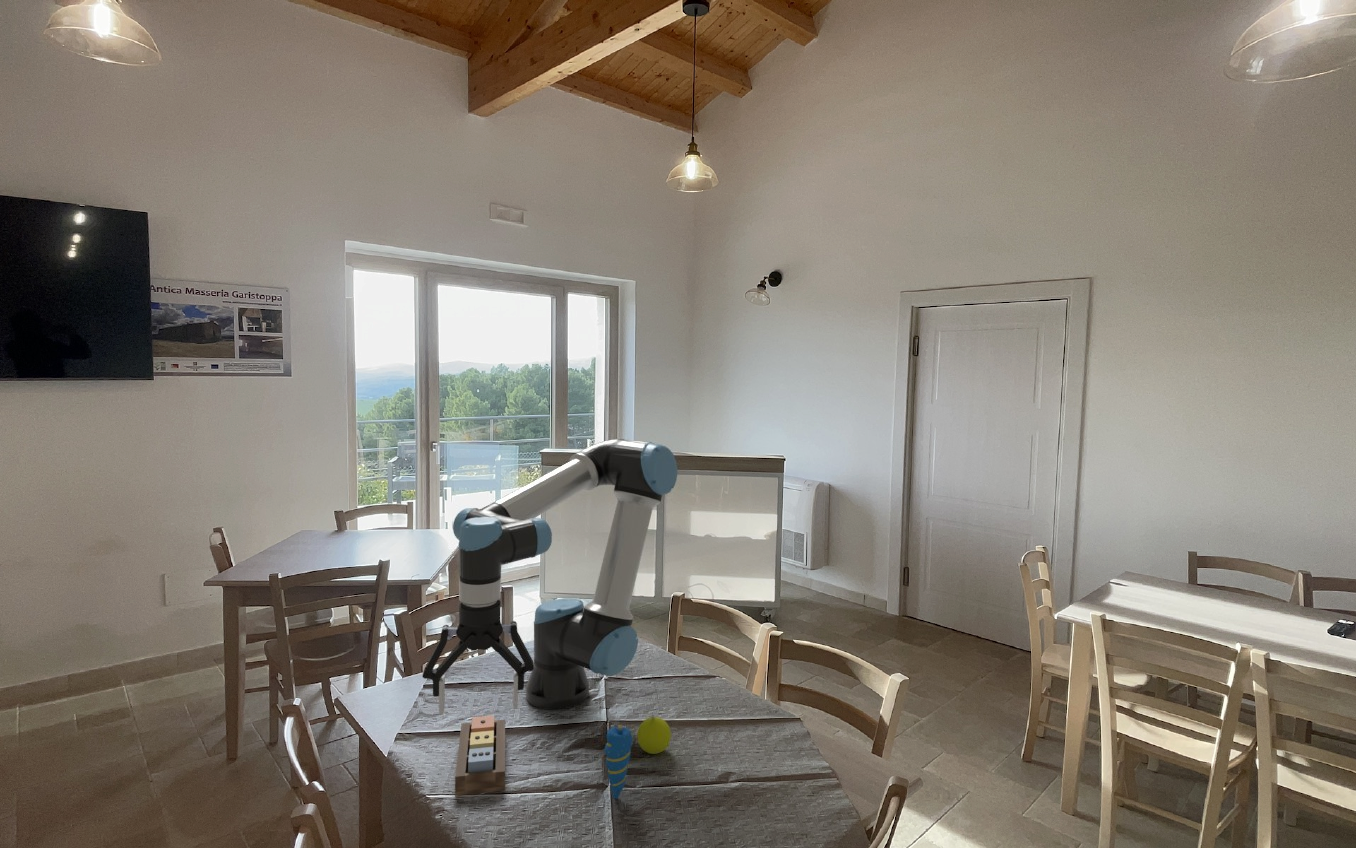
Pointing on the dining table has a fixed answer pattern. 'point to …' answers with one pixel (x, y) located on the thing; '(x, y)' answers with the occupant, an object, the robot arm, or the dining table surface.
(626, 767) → the ornament
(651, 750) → the yellow pointed oval
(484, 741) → the tile two
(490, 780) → the key strip
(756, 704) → the dining table surface
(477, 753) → the tile three
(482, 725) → the tile one
